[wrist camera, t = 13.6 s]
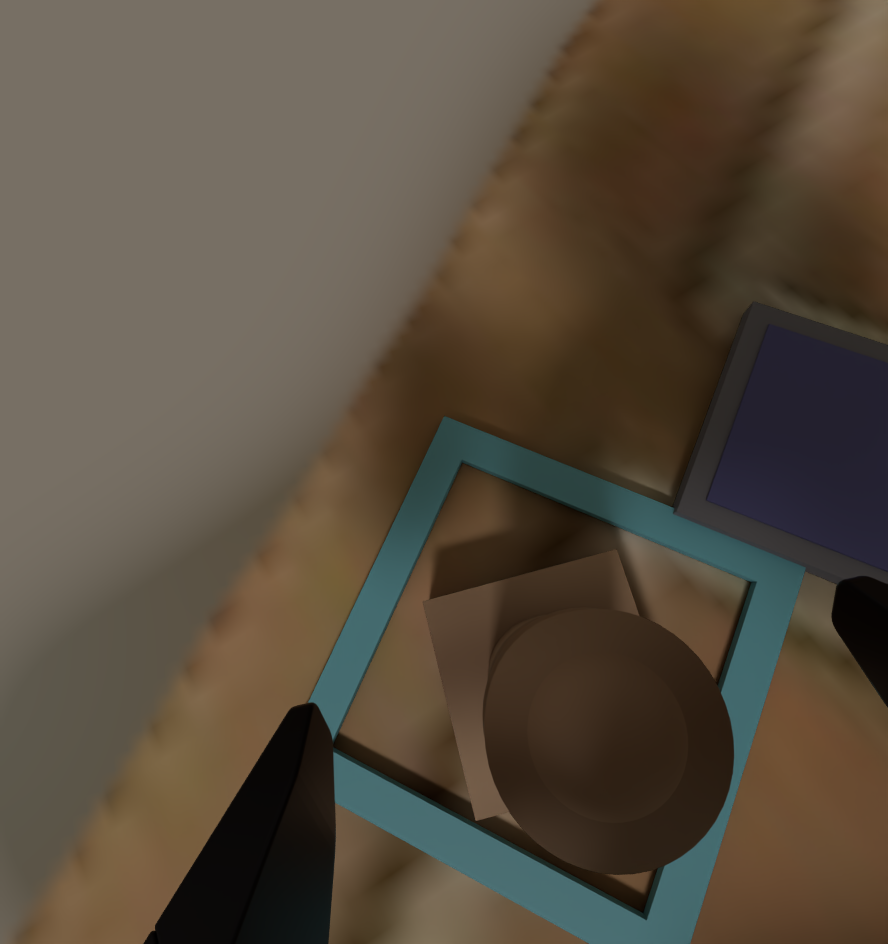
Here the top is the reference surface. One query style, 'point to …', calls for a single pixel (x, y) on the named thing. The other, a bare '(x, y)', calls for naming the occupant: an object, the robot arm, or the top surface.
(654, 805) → the stamp
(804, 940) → the top surface
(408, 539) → the frame
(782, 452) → the ink pad
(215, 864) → the robot arm
